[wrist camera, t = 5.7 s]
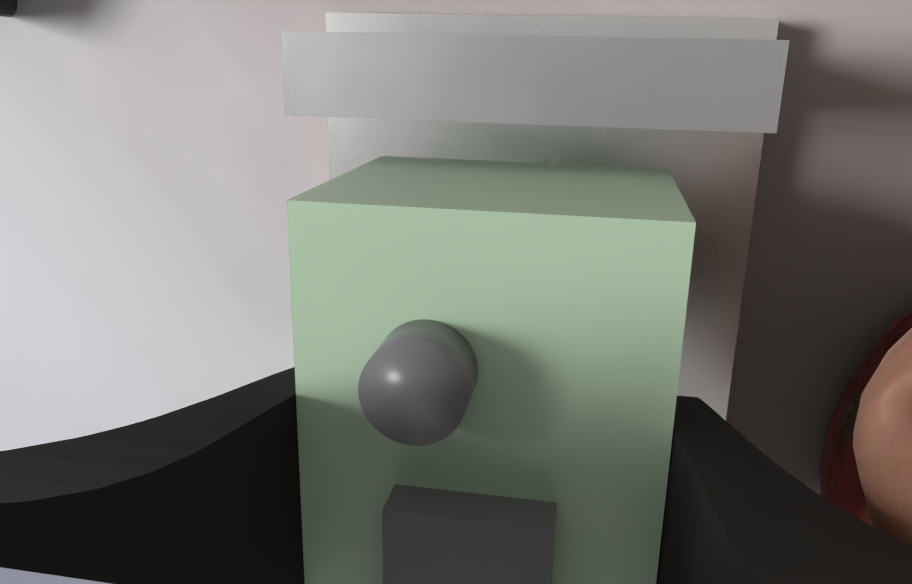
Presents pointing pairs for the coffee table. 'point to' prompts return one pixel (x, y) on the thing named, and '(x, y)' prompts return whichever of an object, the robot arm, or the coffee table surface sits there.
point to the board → (487, 370)
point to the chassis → (568, 119)
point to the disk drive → (8, 7)
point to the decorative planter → (875, 438)
